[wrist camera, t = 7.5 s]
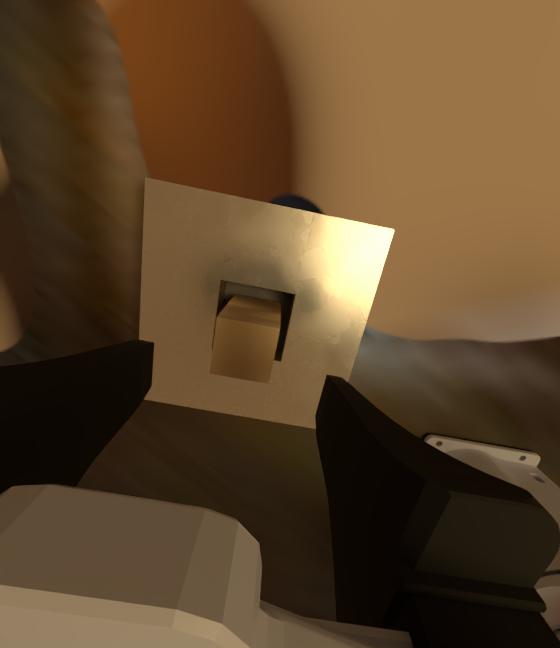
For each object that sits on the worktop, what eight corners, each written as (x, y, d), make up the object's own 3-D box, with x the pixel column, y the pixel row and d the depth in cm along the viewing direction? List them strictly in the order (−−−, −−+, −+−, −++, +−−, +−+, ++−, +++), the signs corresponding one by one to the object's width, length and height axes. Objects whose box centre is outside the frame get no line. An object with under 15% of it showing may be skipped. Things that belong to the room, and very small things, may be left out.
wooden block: (281, 302, 19) (280, 328, 14) (272, 344, 20) (268, 384, 15) (235, 293, 19) (216, 316, 14) (229, 336, 20) (209, 373, 15)
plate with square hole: (382, 230, 17) (394, 229, 15) (328, 414, 22) (332, 431, 20) (160, 183, 17) (145, 177, 15) (150, 383, 21) (136, 398, 19)
